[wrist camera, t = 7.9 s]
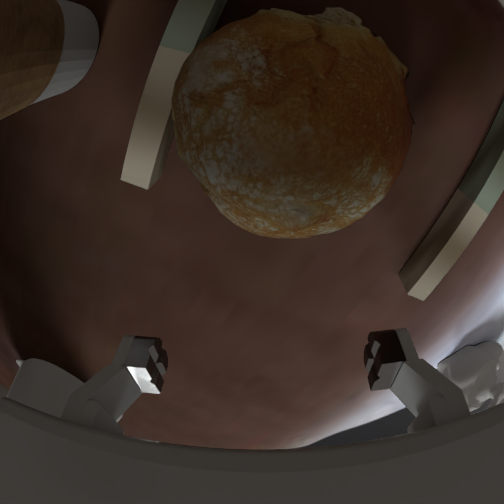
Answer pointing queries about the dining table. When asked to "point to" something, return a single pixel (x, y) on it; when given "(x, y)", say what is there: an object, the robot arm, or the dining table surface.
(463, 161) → the dining table surface
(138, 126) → the channel
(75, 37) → the coffee cup
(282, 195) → the bread roll
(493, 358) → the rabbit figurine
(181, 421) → the dining table surface
